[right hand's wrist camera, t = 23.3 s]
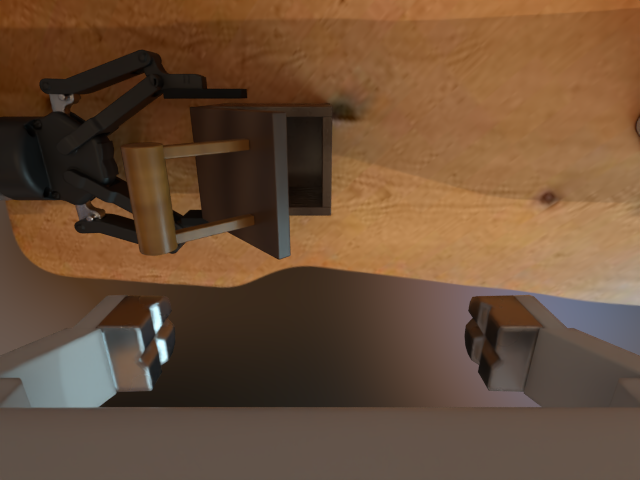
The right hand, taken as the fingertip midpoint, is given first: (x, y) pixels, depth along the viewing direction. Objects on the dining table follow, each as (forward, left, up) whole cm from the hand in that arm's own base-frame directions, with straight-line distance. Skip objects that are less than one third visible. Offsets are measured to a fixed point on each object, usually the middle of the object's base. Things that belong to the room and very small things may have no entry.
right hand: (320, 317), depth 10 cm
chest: (+2, +4, -33) cm, 33 cm away
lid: (+3, +5, -19) cm, 20 cm away
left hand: (+3, +6, -26) cm, 27 cm away
